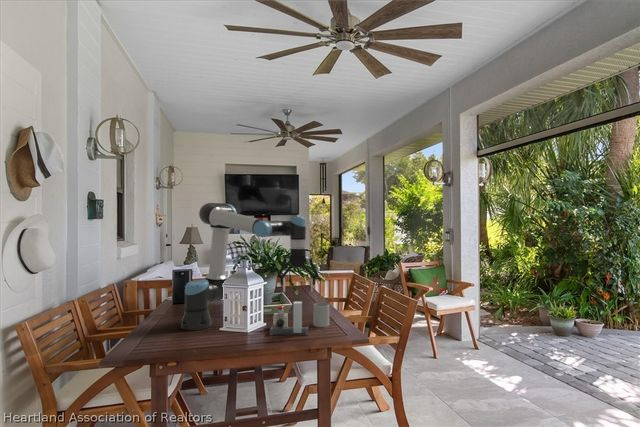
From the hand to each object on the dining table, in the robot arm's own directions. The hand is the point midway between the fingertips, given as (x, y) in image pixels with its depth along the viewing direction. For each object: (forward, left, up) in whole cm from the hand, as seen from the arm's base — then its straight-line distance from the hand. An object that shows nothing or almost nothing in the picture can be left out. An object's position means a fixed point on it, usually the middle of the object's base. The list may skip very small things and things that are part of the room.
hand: (297, 291), depth 186 cm
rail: (-4, 0, -21) cm, 21 cm away
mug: (+12, +17, -21) cm, 29 cm away
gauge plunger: (-9, +9, -16) cm, 21 cm away
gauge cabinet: (-9, +9, -21) cm, 24 cm away
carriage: (0, 0, -19) cm, 19 cm away
